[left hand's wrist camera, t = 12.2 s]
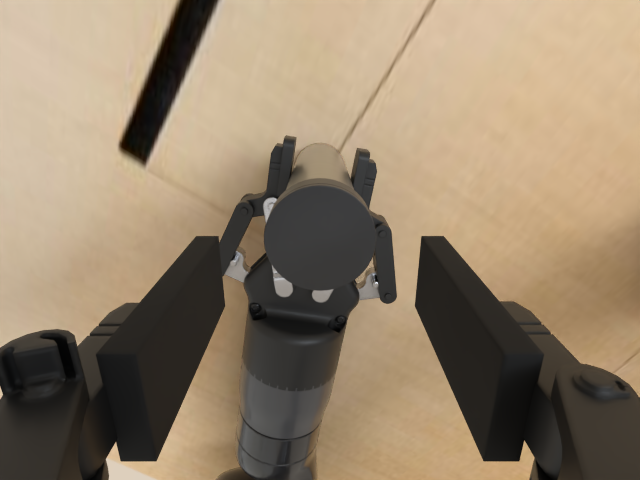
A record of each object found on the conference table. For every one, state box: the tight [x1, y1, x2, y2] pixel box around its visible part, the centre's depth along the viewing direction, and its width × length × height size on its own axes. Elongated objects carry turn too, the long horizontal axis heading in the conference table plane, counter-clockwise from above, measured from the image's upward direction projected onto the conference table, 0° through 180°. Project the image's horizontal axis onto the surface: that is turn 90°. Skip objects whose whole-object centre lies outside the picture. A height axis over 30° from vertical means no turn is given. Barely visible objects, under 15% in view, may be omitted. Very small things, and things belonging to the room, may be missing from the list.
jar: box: [286, 143, 354, 190], centre depth 25 cm, size 4×4×16 cm
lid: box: [264, 178, 376, 291], centre depth 18 cm, size 5×5×2 cm
